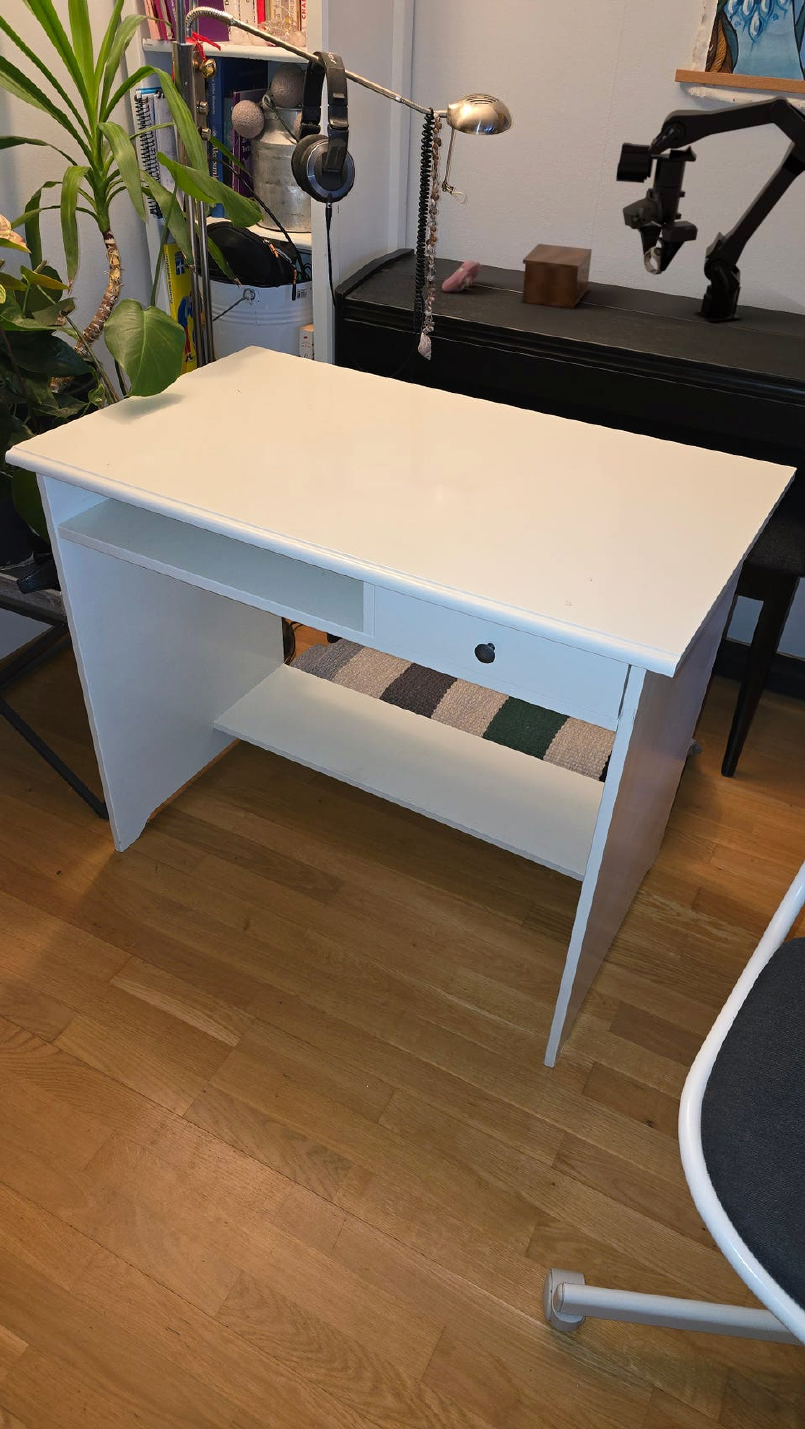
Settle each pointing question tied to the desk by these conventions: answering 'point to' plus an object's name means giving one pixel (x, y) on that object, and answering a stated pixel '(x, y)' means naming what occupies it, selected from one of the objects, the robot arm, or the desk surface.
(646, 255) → the wristwatch
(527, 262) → the sorter lid
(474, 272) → the pink rounded lump
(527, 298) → the sorter box
